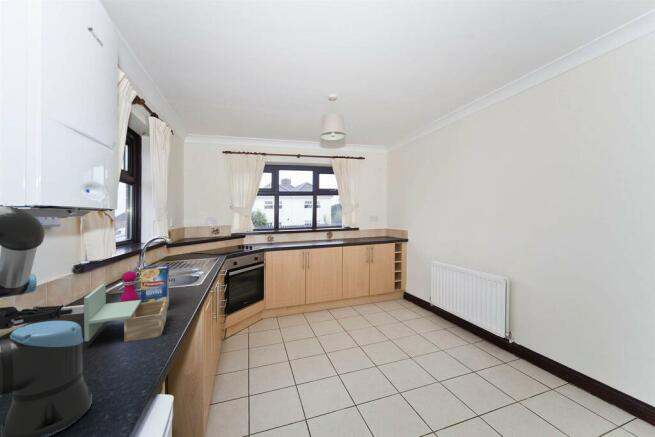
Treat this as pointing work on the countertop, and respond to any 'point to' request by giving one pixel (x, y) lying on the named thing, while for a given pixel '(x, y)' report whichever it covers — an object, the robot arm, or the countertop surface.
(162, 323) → the wooden box
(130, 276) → the pepper mill
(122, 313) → the grey-green angled piece
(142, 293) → the blue food box
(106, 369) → the countertop surface
